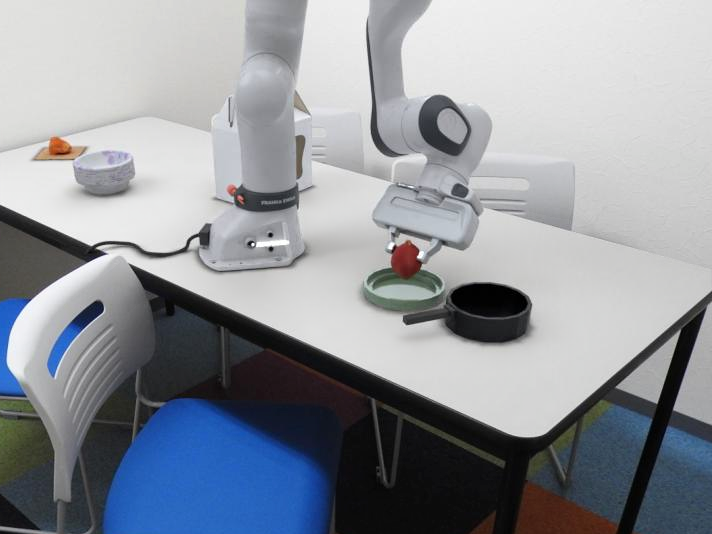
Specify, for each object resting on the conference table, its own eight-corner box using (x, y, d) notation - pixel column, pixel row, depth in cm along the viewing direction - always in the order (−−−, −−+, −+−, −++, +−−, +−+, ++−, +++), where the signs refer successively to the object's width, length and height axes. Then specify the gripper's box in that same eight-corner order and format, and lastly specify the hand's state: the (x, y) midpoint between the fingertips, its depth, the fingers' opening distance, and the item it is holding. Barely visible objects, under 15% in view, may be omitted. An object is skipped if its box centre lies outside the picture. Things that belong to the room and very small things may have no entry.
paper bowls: (65, 195, 197) (59, 164, 193) (98, 177, 209) (94, 147, 204) (116, 202, 192) (112, 170, 188) (147, 183, 204) (144, 152, 199)
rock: (76, 159, 222) (73, 144, 220) (34, 160, 223) (31, 145, 220) (86, 147, 232) (83, 132, 230) (45, 147, 232) (42, 133, 230)
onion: (387, 273, 148) (389, 233, 143) (417, 271, 148) (420, 232, 144) (393, 286, 143) (395, 246, 138) (424, 285, 143) (427, 244, 139)
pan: (498, 298, 145) (501, 276, 143) (544, 333, 134) (548, 310, 131) (385, 320, 139) (386, 297, 136) (423, 359, 128) (425, 335, 125)
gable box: (253, 210, 186) (248, 87, 170) (215, 198, 193) (206, 79, 177) (312, 186, 199) (313, 69, 183) (274, 175, 207) (271, 63, 191)
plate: (384, 319, 139) (385, 306, 138) (350, 284, 151) (351, 273, 150) (459, 304, 143) (460, 292, 142) (420, 272, 155) (421, 260, 154)
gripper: (385, 171, 146) (353, 236, 146) (482, 193, 135) (447, 264, 134) (398, 188, 151) (366, 251, 151) (492, 211, 140) (458, 279, 140)
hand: (405, 257), depth 143 cm, fingers closed on onion, 5 cm apart
